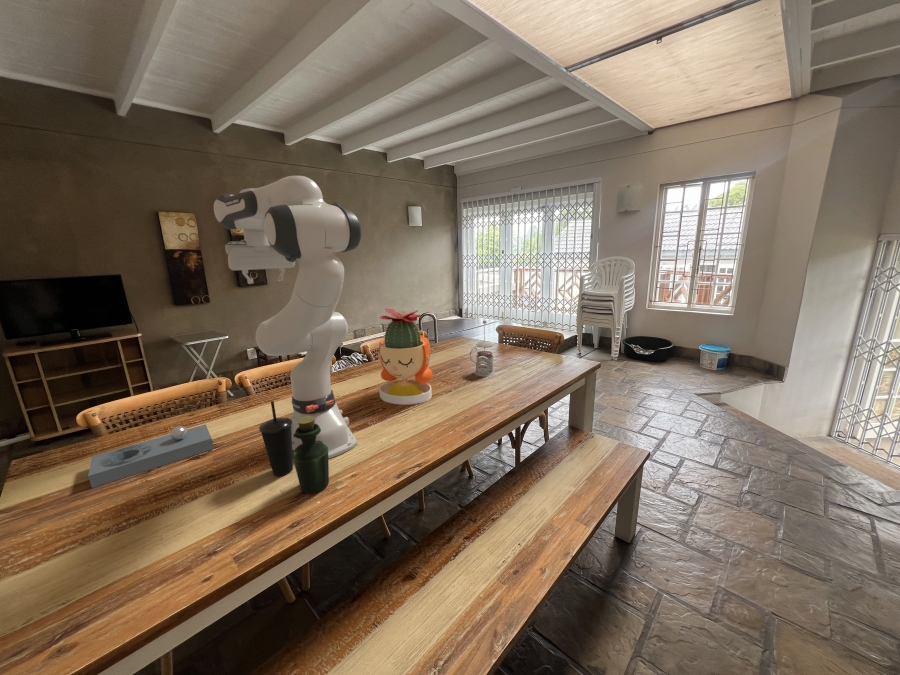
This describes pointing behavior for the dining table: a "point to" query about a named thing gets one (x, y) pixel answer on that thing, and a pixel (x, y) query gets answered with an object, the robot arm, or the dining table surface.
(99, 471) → the grey flat block
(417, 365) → the potted cactus
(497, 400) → the dining table surface
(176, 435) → the ball
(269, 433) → the drinking cup
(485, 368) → the french press
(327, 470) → the potion bottle
